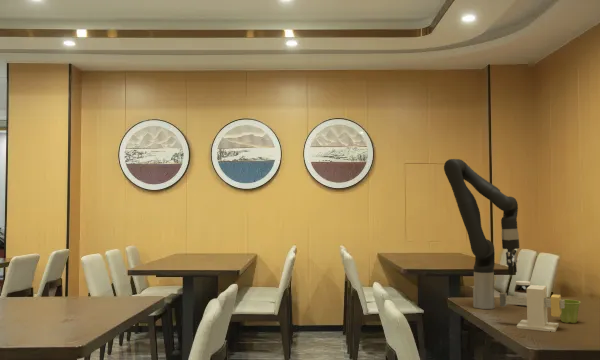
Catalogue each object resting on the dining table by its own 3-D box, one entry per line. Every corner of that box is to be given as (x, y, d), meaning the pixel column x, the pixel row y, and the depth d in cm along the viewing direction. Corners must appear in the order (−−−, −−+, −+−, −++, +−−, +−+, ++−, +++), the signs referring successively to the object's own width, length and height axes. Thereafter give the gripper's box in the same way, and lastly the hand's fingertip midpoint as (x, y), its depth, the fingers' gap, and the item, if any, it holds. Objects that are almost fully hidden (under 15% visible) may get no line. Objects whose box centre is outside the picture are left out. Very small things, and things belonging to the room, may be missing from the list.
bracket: (516, 328, 213) (515, 287, 214) (521, 322, 224) (520, 284, 225) (555, 332, 206) (553, 290, 207) (558, 325, 217) (557, 286, 218)
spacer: (551, 316, 210) (550, 296, 210) (553, 312, 216) (552, 294, 216) (559, 316, 208) (559, 297, 208) (561, 313, 214) (560, 294, 215)
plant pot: (571, 325, 218) (571, 303, 219) (551, 321, 227) (551, 300, 227) (586, 322, 223) (585, 301, 223) (566, 318, 231) (565, 298, 231)
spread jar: (518, 302, 271) (517, 279, 272) (541, 305, 264) (541, 281, 265) (512, 306, 261) (511, 282, 262) (536, 308, 255) (535, 284, 255)
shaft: (500, 306, 221) (499, 294, 221) (502, 304, 225) (501, 292, 225) (564, 311, 208) (563, 298, 209) (565, 309, 213) (564, 296, 213)
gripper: (504, 238, 258) (507, 271, 257) (499, 239, 246) (501, 274, 245) (521, 237, 254) (523, 271, 253) (516, 239, 242) (519, 275, 241)
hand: (512, 273), depth 249 cm, fingers open, 8 cm apart
